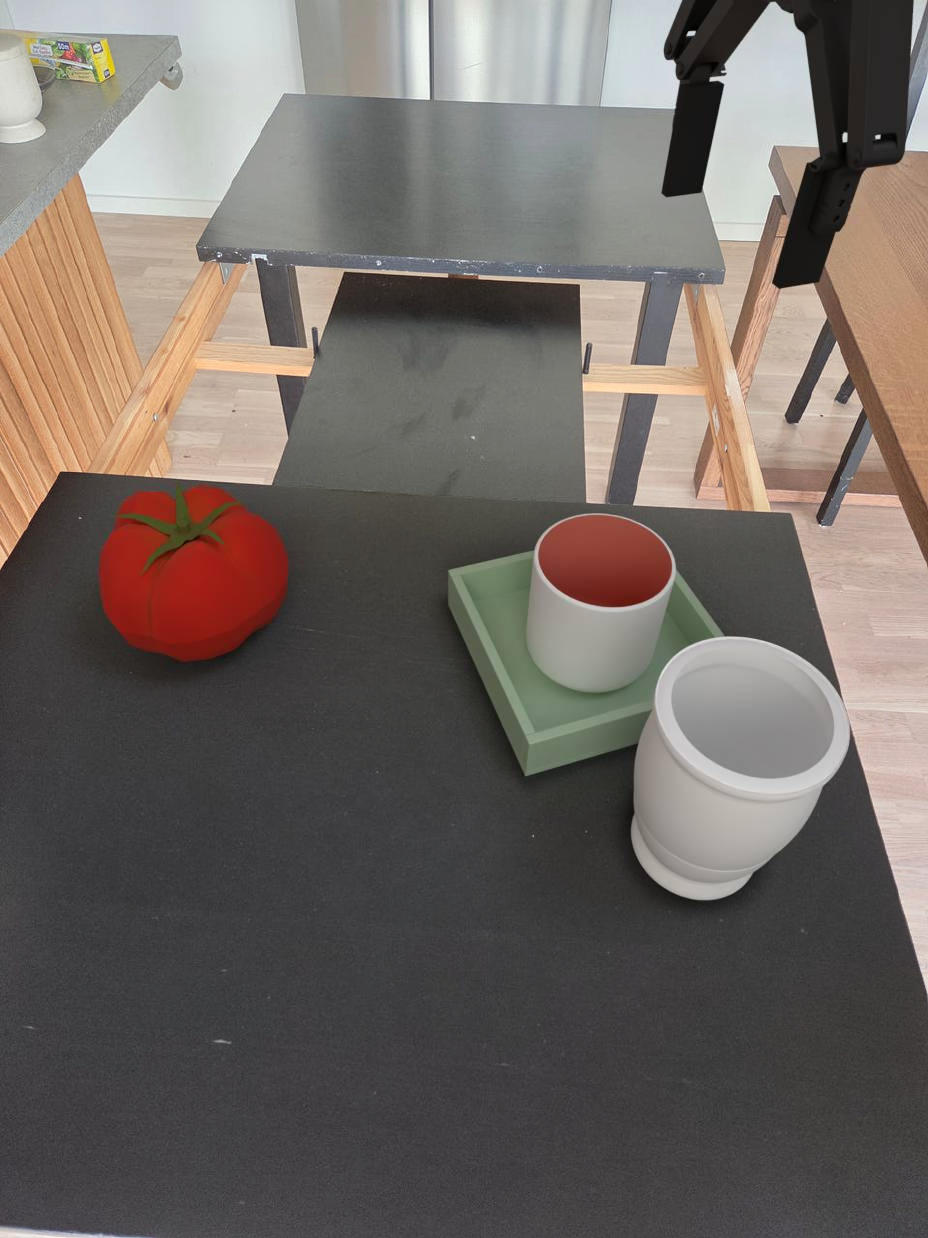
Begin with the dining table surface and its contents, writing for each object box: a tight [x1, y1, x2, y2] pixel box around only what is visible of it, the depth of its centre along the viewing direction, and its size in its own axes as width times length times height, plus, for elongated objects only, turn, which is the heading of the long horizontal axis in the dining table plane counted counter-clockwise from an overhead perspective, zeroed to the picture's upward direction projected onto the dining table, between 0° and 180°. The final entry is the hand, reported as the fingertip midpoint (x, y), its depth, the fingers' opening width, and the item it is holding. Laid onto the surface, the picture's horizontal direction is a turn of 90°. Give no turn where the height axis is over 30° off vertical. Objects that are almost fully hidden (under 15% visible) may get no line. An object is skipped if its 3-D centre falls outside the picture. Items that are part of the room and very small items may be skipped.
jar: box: [630, 636, 851, 901], centre depth 51 cm, size 11×10×15 cm
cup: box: [526, 512, 677, 693], centre depth 63 cm, size 10×10×10 cm
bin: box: [447, 549, 726, 777], centre depth 66 cm, size 18×18×4 cm
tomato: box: [98, 480, 290, 663], centre depth 65 cm, size 13×14×12 cm
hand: (733, 234), depth 53 cm, fingers open, 13 cm apart
